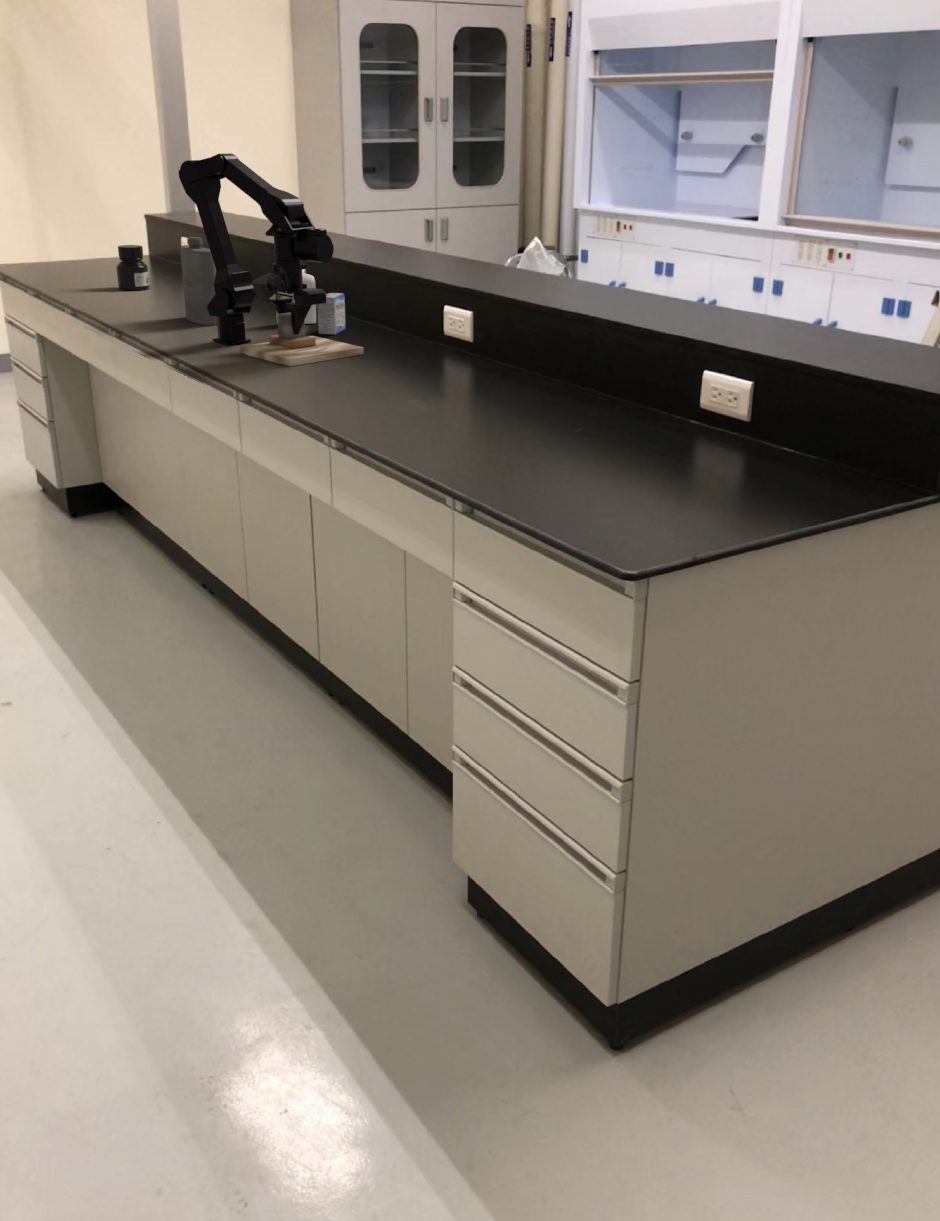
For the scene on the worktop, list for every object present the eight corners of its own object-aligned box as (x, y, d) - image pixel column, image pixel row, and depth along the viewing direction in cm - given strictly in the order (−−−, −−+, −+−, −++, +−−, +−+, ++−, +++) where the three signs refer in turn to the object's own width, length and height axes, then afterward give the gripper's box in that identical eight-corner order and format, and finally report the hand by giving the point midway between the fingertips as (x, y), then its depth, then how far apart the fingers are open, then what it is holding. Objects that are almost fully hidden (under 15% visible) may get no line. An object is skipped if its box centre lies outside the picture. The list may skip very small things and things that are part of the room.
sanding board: (240, 353, 243) (239, 346, 242) (313, 342, 256) (312, 335, 255) (290, 366, 231) (289, 358, 231) (363, 354, 245) (363, 347, 244)
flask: (180, 317, 283) (173, 234, 275) (202, 315, 286) (196, 234, 278) (200, 326, 272) (194, 240, 264) (223, 324, 275) (217, 239, 266)
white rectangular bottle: (311, 321, 282) (309, 270, 277) (319, 323, 279) (317, 272, 274) (274, 324, 277) (271, 272, 272) (281, 326, 274) (279, 274, 269)
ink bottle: (144, 291, 322) (140, 248, 317) (114, 290, 322) (109, 247, 317) (153, 286, 331) (149, 244, 326) (124, 286, 331) (119, 243, 326)
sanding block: (268, 342, 246) (267, 312, 244) (290, 339, 250) (289, 309, 248) (293, 348, 240) (292, 317, 238) (315, 344, 244) (314, 314, 242)
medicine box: (335, 335, 265) (334, 297, 262) (318, 334, 266) (316, 296, 262) (345, 329, 272) (344, 293, 269) (328, 328, 273) (327, 292, 269)
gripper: (231, 257, 239) (236, 331, 245) (283, 266, 227) (287, 343, 233) (274, 253, 246) (277, 325, 252) (327, 262, 234) (329, 337, 240)
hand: (291, 333), depth 244 cm, fingers closed on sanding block, 3 cm apart
